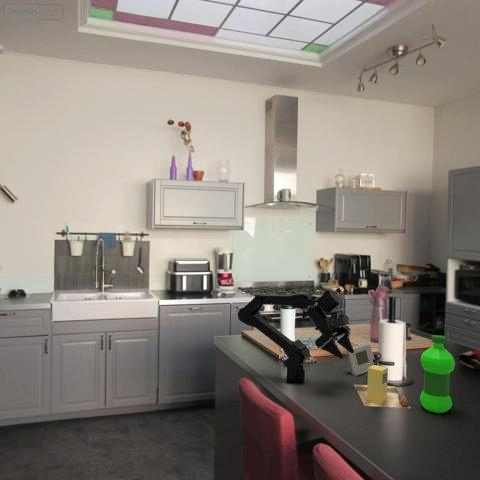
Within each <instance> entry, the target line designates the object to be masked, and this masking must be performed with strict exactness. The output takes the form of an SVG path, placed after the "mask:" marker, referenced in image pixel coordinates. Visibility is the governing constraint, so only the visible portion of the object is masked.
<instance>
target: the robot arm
mask: <svg viewBox="0 0 480 480" xmlns="http://www.w3.org/2000/svg"><path fill="white" fill-rule="evenodd" d="M340 304H342V300H341V298H340V297H339V295H338V294H335V292H333V291H331V290H330V289H327V290H326V291H324V292H323V294H322V295H321V296H320V297H319V296H317V295H316V296H315V295H313V294H312V293H311V292H310V291H305V292H304V291H303V292H298V293H293V294H264V293H260V294H256V295H255V296H254V297H253V298H252V299H251V300H250V301H249V302H248V303H247V304H246V305H245V306H244V307H242V308H240V309H239V310H238V311H237V319H238V320H239V321H240V322H241V323H243V324H245V325H247V326H248V327H252V328H255V329H256V330H258V331H260V333H261V334H263V335H264V336H265V337H267V338H268V339H269V340H270V341H272V342H273V343H274V344H276V345H277V346H278V347H280V349H282V350H283V351H284V353H285V355H286V357H287V359H285V360H284V362H283V364H284V366H285V368H286V371H285V372H286V376H285V382H286V384H292V385H293V384H294V385H296V384H297V385H303V384H304V383H305V380H306V379H305V378H306V377H305V376H306V370H305V368H304V364H305V363H306V361H307V360H309V359H310V357H311V352H310V349H309V347H308V344H305V343H303V342H302V340H300V339H297V340H295V341H294V340H291V339H290V338H289V337H287V336H286V335H285V334H284V333H282V331H280V330H278V329H277V328H276V327H275V326H273V325H272V324H270V323H269V322H268V321H266V320H265V319H264V318H263V316H262V314H261V312H260V310H261V309H262V307H263V306H264V305H265V306H266V305H267V306H289V307H292V308H294V309H298V310H299V309H300V310H303V311H302V317H301V318H302V319H307V318H309V319H310V321H311V322H312V323H313V325H314V326H315V328H314V330H315V331H319V333H320V334H321V335H320V336H319V337H318V338H316V339H315V341H314V345H315V346H316V348H318V349H321V350H324V351H325V352H328V353H329V354H331V355H333V356H334V357H337V358H338V359H341V360H342V359H343V358H344V355H343V354H342V352H341V350H340V348H339V347H338V345H340V346H341V347H342V348H344V349H345V350H346V351H347V350H348V351H349V352H350V353H354V350H353V347H354V346H353V345H352V343H351V339H350V335H351V331H352V330H351V328H350V326H349V324H350V322H349V320H350V317H348V315H347V314H345V313H341V314H339V315H338V318H333V317H331V316H330V317H329V316H328V315H327V314H326V313H329V314H331V313H332V312H333V311H334V310H335V309H336V308H338V306H339V305H340ZM307 308H308V309H307ZM305 309H307V310H305ZM337 344H338V345H337Z"/></svg>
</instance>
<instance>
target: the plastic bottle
mask: <svg viewBox="0 0 480 480" xmlns="http://www.w3.org/2000/svg"><path fill="white" fill-rule="evenodd" d="M446 338H447V337H446V336H445V335H440V334H439V335H438V334H433V335H431V342H432V346H431V347H429V348H428V349H426V350H425V351H423V352H422V354H421V356H420V363H421V367H422V368H423V371H424V372H423V374H424V376H423V389H422V392H421V393H420V396H419V399H420V402H421V405H422V407H423V409H425V410H426V411H428V412H430V413H435V414H444V413H446V412H448V411H449V410H450V409H451V408H452V405H453V401H452V398H451V395H450V388H451V387H450V385H451V384H450V382H451V381H450V380H451V373H452V372H453V371H454V370H455V367H456V361H455V359H454V357H453V355H452V354H451V353H450V352H449V350H447V349H446V348H445V347H444V345H445V344H446V340H447V339H446Z"/></svg>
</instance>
